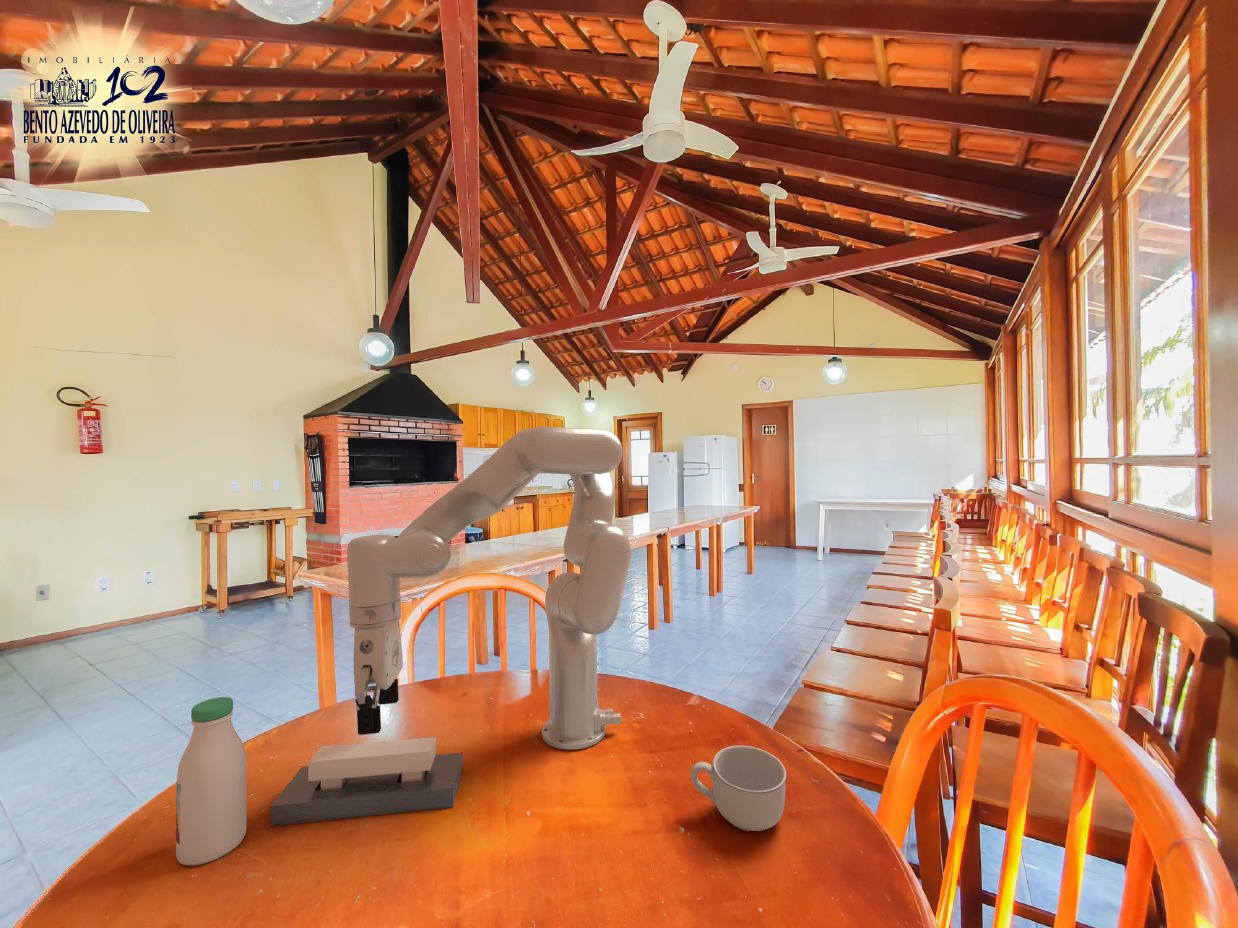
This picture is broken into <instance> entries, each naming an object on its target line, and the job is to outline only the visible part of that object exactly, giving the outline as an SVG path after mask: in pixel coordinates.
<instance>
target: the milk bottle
mask: <svg viewBox="0 0 1238 928" xmlns="http://www.w3.org/2000/svg"><path fill="white" fill-rule="evenodd" d="M190 711H191V712H190V713H191V714H190V715H191V716H190V718H191V722H190V724H191V725H192V726H193V727H192V728H193V729H192V730H193V731H192V734H191V737H190V739H189V741H188V744H187V746H186V748H185V750H184V752H183V754H182V756H181V758H180V761H179V764H178V767H177V768H178V769H177V773H176V788H175V789H176V790H175V793H176V795H175V858H176V860H177V861H178V863H180V864H182V865H184V866H189V867H190V866H198V865H203V864H207V863H209V862H212V861H215V860H218V859H220V858H222V857H223V856H226V855H228V854H229V853H230V852H232V851H233V850H234V849H236V848H237V847H238V846H239V845H240V844H241V843H242V841H243V840H244V837H245V836H246V834H247V823H248V822H247V820H248V819H247V817H248V816H247V810H248V809H247V806H248V805H247V803H248V802H247V796H248V795H247V793H248V792H247V783H248V782H247V756H246V749H245V745H244V743H243V741H242V739H241V737H240V736H239V734H238V733H237V732H236V730H235V727H234V724H233V723H232V716H233V715H234V700H233V698H231V697H229V696H221V697H213V698H210V699H206V700H203V701H201V702H199V703H197V704H195V705H194V706H193V707H192V708H191V710H190Z"/></svg>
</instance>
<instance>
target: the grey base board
mask: <svg viewBox="0 0 1238 928" xmlns="http://www.w3.org/2000/svg"><path fill="white" fill-rule="evenodd" d="M463 759H464V752H454V753H443V754H436V756H435V758H434V761H433V764H432V766H431V769H430V770H427V771H426V778H425V780H421V781H411V782H402V773H394V774H384V775H373V776H362V777H351V778H349V781H348V783H347V784H346V786H345V788H338V789H328V790H321V780H319V781H308V766H307V765H306V766H301V767H300V768H299V769H298V771H297V772H296V774H294V776H293V777H292V778H291V780H290V781H289V782H288V783H287V785H286V786H285V787H284V789H282V791H281V792H280V793H279V795H278V796H277V797H276V799H275V800H274V801H273V803H272V804H271V805H270V816H269V817H270V819H269V820H270V826H269V827H278V826H286V825H287V826H289V825H298V824H307V823H315V822H316V823H317V822H318V823H319V822H325V821H336V820H337V821H338V820H345V819H353V818H354V819H355V818H364V817H365V818H366V817H374V816H383V815H395V814H402V813H410V812H421V811H423V812H424V811H431V810H440V809H441V810H442V809H451V808H454V806H455V801H456V797H457V793H458V790H459V786H460V782H461V778H462V775H463V770H464V766H463V765H464V760H463Z"/></svg>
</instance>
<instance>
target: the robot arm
mask: <svg viewBox="0 0 1238 928" xmlns="http://www.w3.org/2000/svg"><path fill="white" fill-rule="evenodd" d="M623 453H624V452H623V446H622V443H621V441H620V440H619V438H618V437H617V436H616V435H615V434H614V433H612V432H611V431H610V430H606V429H601V428H581V427H580V428H579V427H578V428H577V427H576V428H575V427H574V428H573V427H561V426H559V427H558V426H536V427H532V428H531V427H530V428H525V429H522V430H520V431H518V432H517V433H515V434H514V435H512V436H511V437H510V438H509V439H507V441H505V442H504V443H503V444H502V445H501V446H500V447H499V448H498V449H497V450H496V451H495V452H493V454H491V455H490V456H489V457H488V458H487V459H486V460H485V461H484V462H483V463H481V465H479V466H477V468H476V469H475V470H473V472H471V473H470V474H469V475H468V476H466V477H465V478H464V479H463V480H462V481H461V482H459V483H458V484H456V485H455V486H454V487H453V488H452V489H450V490H449V491H447V492H446V493H445V494H444V495H442V496H441V497H440V498H438V499H437V500H436V501H434V502H433V503H432V504H431V505H430V506H428V507H427V508H426V509H425V510H423V512H422V513H420V514H419V515H418V516H417V517H416V518H415V519H414V520H412V522H410V524H409V525H408V526H407V527H406V528H405V529H403V530H402V531H401V532H400V534H399V535H398V536H397V537H395V536H393V535H390V534H371V535H363V536H359V537H354V539H351V540H350V541H349V542H348V544H347V548H346V555H347V556H346V558H347V582H348V584H347V585H348V610H349V611H348V613H349V615H348V616H349V627H350V628H353V629H354V633H353V635H354V636H353V637H354V639H353V681H354V682H353V683H354V696H355V701H354V702H355V710H356V721H357V722H356V723H357V724H356V725H357V734H358V735H359V736H364V735H370V734H371V735H372V734H379V733H380V732H381V730H382V718H381V715H382V713H381V705H390V704H397V703H398V702H399V700H400V699H399V698H400V697H399V678H398V675H400V672H401V671H402V669H403V667H404V661H403V660H404V659H403V649H402V648H403V647H402V636H401V627H400V620H401V618H402V607H401V603H402V602H401V583H400V582H401V581H400V579H407V578H409V579H423V578H424V579H425V578H426V579H427V578H430V577H434V576H437V575H438V574H440V573H442V572H443V571H444V570H445V569H446V568H447V567H448V565H449V563H450V560H451V556H452V554H451V553H452V552H451V551H452V550H451V547H450V544H449V542H451V540H453V539H454V538H455V537H456V536H457V535H459V533H461V532H462V531H464V530H465V529H466V528H467V527H470V526H471V525H473V524H475V523H477V522H479V521H481V520H485V519H488V518H490V517H492V516H495V515H496V514H498V513H499V512H501V511H502V510H503V509H504V508H505V507H506V506H507V505H508V504H509V503H510V502H511V501H513V499H514V498H515V497H516V496H518V495H519V494H520V492H521V491H522V490H523V489H524V488H525V487H527V485H528V484H530V482H531V481H533V480H534V479H535V478H536V477H537V476H538V475H539V474H553V475H569V477H570V479H571V480H572V484H573V489H574V492H573V503H572V507H571V512H570V515H569V520H568V525H567V529H566V533H565V536H564V541H563V547H562V548H563V554H564V556H565V558H566V560H567V561H568V562H569V563H571V564H572V565H574V566H576V567H577V568H578V567H579V568H581V573H577V572H571V571H570V572H569V571H568V572H563V573H560V574H559V575H557V576H556V577H554V578H553V579H552V580H551V582H550V583H549V584H548V587H547V588H546V593H545V599H544V603H545V606H544V607H545V612H546V620H547V627H548V641H549V642H548V643H549V644H548V645H549V649H548V651H549V652H548V653H549V656H548V657H549V659H548V660H549V662H548V663H549V664H548V666H549V667H548V668H549V669H548V670H549V673H548V674H549V681H548V682H549V683H548V684H549V692H548V693H549V719H548V720H547V721H545V723H544V724H543V726H542V728H541V738H542V739H543V742H545V743H546V744H548V745H549V746H550V747H552V748H556V749H560V750H568V751H570V750H571V751H572V750H581V749H585V748H589V747H591V746H595V745H596V744H598V743H599V742H600V741H602V739H603V738H604V737H605V735H606V725H610V724H612V725H616V724H617V725H618V724H622V714H621V712H614V709H613V708H607V709H602V708H600V706H599V703H598V639H597V637H598V635H601V634H603V633H605V632H606V631H608V630H609V629H610V628H611V627H612V625H613V624H614V623H615V622H616V620H617V617H618V615H619V612H620V609H621V604H622V600H623V596H624V591H625V588H626V587H625V586H626V583H627V579H628V573H629V569H630V564H631V558H632V557H631V556H632V555H631V554H632V552H631V551H632V550H631V543H630V540H629V538H628V536H627V534H626V533H625V531H624V530H623V529H621V527H618V526H617V525H614V524H612V523H613V517H614V512H615V507H616V495H617V494H616V486H615V482H614V479H613V477H612V475H611V472H612V471H614V470H615V469H616V468H617V467H618V466H619V465H620V463H621V461H622V458H623ZM370 685H371V686H370ZM369 693H373V694H372V696H371V695H370V694H369Z"/></svg>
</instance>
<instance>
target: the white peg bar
mask: <svg viewBox="0 0 1238 928" xmlns="http://www.w3.org/2000/svg"><path fill="white" fill-rule="evenodd" d="M436 739H437V737H436V736H432V737H421V738H410V739H409V738H407V739H397V740H396V739H395V740H384V741H383V740H382V741H372V742H360V743H348V744H336V745H335V744H334V745H324V746H323V745H322V746H320V747H319V748H318V749H317V750H316V752H315V753H314V755H312V757H311V758H310V759H309V761H308V762H307V764H308V781H319V780H321V790H328V789H338V788H345V786H346V784H347V783H348V781H349V778H351V777H362V776H373V775H384V774H394V773H402V782H411V781H421V780H425V778H426V771H427V770H430V769H431V766H432V764H433V761H434V758H435V756H436V755H437V753H436V751H437V749H436V746H437V742H436V741H437V740H436Z"/></svg>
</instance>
